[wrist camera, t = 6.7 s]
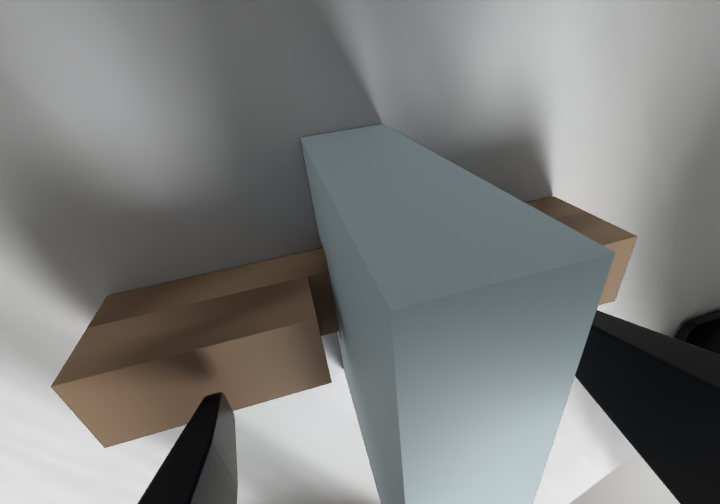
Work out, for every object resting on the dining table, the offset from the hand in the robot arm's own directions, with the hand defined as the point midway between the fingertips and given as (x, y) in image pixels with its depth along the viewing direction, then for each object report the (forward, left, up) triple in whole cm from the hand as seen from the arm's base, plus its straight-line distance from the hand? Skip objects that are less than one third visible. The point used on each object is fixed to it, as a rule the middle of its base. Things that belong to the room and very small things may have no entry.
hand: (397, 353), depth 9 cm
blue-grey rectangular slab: (0, 0, -4) cm, 4 cm away
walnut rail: (0, 0, -4) cm, 4 cm away
